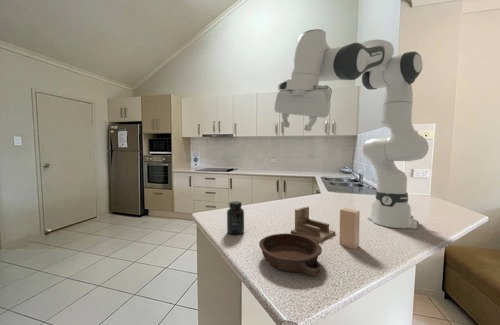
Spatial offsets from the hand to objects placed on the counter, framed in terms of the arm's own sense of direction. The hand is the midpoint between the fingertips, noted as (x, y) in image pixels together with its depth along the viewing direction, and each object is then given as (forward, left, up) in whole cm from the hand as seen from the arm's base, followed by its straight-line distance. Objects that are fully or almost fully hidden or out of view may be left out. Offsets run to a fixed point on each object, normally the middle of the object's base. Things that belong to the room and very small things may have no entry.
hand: (296, 129), depth 71 cm
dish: (+10, +5, -40) cm, 41 cm away
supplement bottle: (+9, -23, -40) cm, 47 cm away
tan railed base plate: (-13, -2, -40) cm, 42 cm away
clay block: (-13, +12, -40) cm, 44 cm away
